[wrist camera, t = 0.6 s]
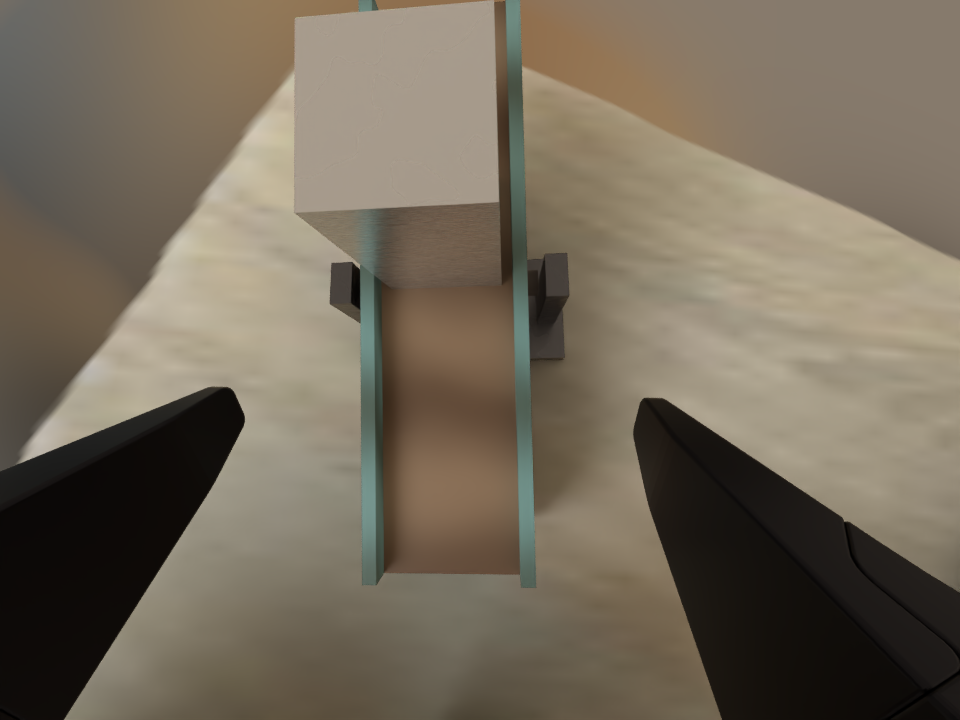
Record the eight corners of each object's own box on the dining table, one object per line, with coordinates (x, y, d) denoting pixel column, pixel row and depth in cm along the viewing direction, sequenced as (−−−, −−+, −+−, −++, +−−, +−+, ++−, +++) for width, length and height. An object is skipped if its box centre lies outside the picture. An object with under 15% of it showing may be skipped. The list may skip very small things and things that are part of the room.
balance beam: (540, 538, 20) (551, 587, 15) (384, 536, 20) (348, 585, 16) (526, 65, 21) (533, -25, 16) (380, 76, 22) (345, -8, 17)
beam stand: (562, 359, 22) (583, 339, 16) (365, 364, 23) (317, 346, 17) (557, 263, 23) (575, 211, 17) (368, 271, 24) (323, 224, 18)
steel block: (501, 285, 17) (499, 202, 9) (392, 289, 17) (294, 212, 9) (499, 176, 17) (494, 0, 9) (391, 182, 17) (294, 17, 9)
